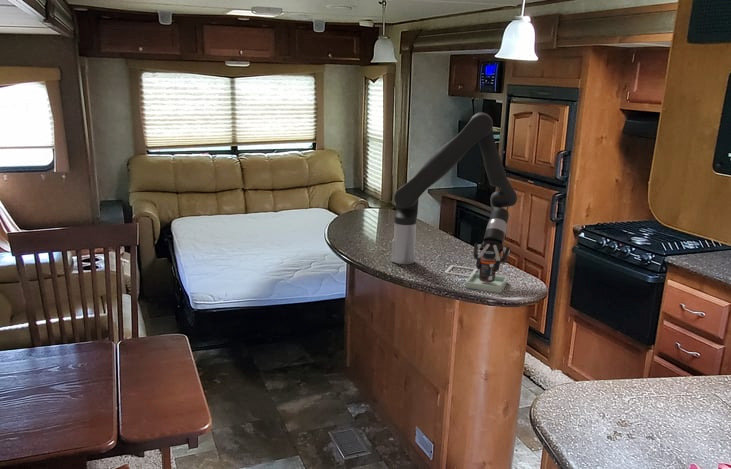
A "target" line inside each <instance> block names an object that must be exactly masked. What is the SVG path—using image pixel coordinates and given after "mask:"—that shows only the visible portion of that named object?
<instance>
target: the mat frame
mask: <svg viewBox="0 0 731 469" xmlns="http://www.w3.org/2000/svg"><path fill="white" fill-rule="evenodd" d="M453 268H456V269H457V268H458V269H464V270H469V271H471V273H470V274H466V273H465V274H463V273H458V272H451V271H452V269H453ZM478 270H479V269H477V268H476V267H475V268H474V267H468V266H461V265H454V264H451V265H450V266H449V267H448V268H447V269H446V270H445V271H444V272H443V274H445V275H452V276H457V277H466V278H469V277H470V276H471V275H472V273H473V272H475V273H478Z"/></svg>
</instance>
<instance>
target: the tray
mask: <svg viewBox="0 0 731 469" xmlns="http://www.w3.org/2000/svg"><path fill="white" fill-rule="evenodd" d="M472 272H473V271H472ZM472 272H471V273H472ZM479 274H480V272H476V273H475V272H473V273H472V275H471V276H470V277H467V279H466V281H465V283H464V288H465V289H471V290H477V291H483V292H491V293H495V294H501V293H502V292H503V291H504V289H505V287H506V285H507V284H508V280H509V277H508V276H500V275H495V280H494V281H493V282H483V281H481V280H480V279H479Z"/></svg>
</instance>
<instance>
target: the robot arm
mask: <svg viewBox="0 0 731 469" xmlns="http://www.w3.org/2000/svg"><path fill="white" fill-rule="evenodd" d="M492 118H493V117H491V116H490V115H489V114H488V113H486V112H482V111H480V112H477V113H475V114H474V115H472V116H471V118H470V119H469V121H468V123H467V124H466V125H465V126H464V127H463V129H461V131H460V132H459V133H458V134H457V135H456V136H455V137H453V138H452V139H451V140H449V141H447V143H445V144H444V145H442V147H440V148H439V149H438V150H437V151H436V152H434V153H433V155H432V156H430V157H429V159H428V160H427V161H426V162H424V164H423V166H422V167H420V169H419V171H417V173H416V174H415V175H414V176H413V177H412V178H411V179H410V180H409V181H407V182H406V183H405V184H403V185H402V186H400V187H399V188H398V189H397V190H396V191H395V192H394V197H393V201H394V204H395V205H396V211H395V215H394V224H393V226H394V227H393V239H392V240H391V257H390V258H391V259H390V260H391V261H390V262H391V263H392V262H393V263H395V264H398V265H411V264H414V262H415V256H416V255H415V253H416V252H415V250H416V237H417V236H416V233H417V219H418V212H419V199H420V198H421V196H422V194H424V193H425V191H426V190H427V189H429V188H430V187H431V186H433V185H434V184H435V183H437V182H438V181H440V179H442V178H443V177H445V176H446V175H447V174H448V173H449V172H450V171H451V170H452V169H453V168H454V167H455V166H456V165H457V164H458V163H459V162H460V161H461V160H462V159H463V157H464V156H465V155H466V154H467V152H468V151H469V150H470V149H471V148H472V147H474V146H475V145H477V143H478V145H479V149H480V152H481V156H482V160H483V166H484V168H485V172H486V176H487V179H488V182H489V185H490V186H491V187H497V188H500V189H501V190H497V191H494V192H492V194H491V196H490V199H489V200H490V201H489V202H490V216H489V220H488V222H487V226H486V229H485V233H484V237H483V242H482V243H481V244H480V243H479V244H478V243H477V242H475V243H474V245H473V258H474V259H475V260H476V264H475V266H476V267H475V268H476V269H478V270H480V262H481V257H483V256H484V252H485V251H492V252H494V257H495V258H496V264H495V268H494V271H495V273H497V272H498V271H500V266H501V264H506V262H507V260H508V257H509V256H510V252H511V249H510V247H508V246H507V247H505V246H504V243H505V242H504V241H505V236H506V234H507V228H508V226H507V225H508V221H509V215H510V214H509V211H508V210H507V209H506V208H508V207H509V208H510V207H513V206H515V205H516V204H517V201H518V197H517V192H516V191H515V189H514V188H513V185H512V184H511V182H510V181H509V180H508V178H507V175H506V174H507V173H506V172H505V168H504V165H503V162H502V158H501V157H500V153H499V151H498V147H497V144H496V141H495V137H494V127H493V126H494V122H493V119H492ZM480 249H482V250H481V251H480ZM479 251H480V253H479ZM501 252H503V255H502V258H501V256H500V253H501ZM478 253H479V254H478Z"/></svg>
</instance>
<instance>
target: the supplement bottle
mask: <svg viewBox="0 0 731 469" xmlns="http://www.w3.org/2000/svg"><path fill="white" fill-rule="evenodd" d="M496 261H497V259H496V256H494V252H492V251H485V252H484V256H483V257H481V262H480V269H479V273H480V274H479V279H480V280H481V281H483V282H493V281H494V280H495V276H496V272H495V271H494V268H495V264H496Z"/></svg>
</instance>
